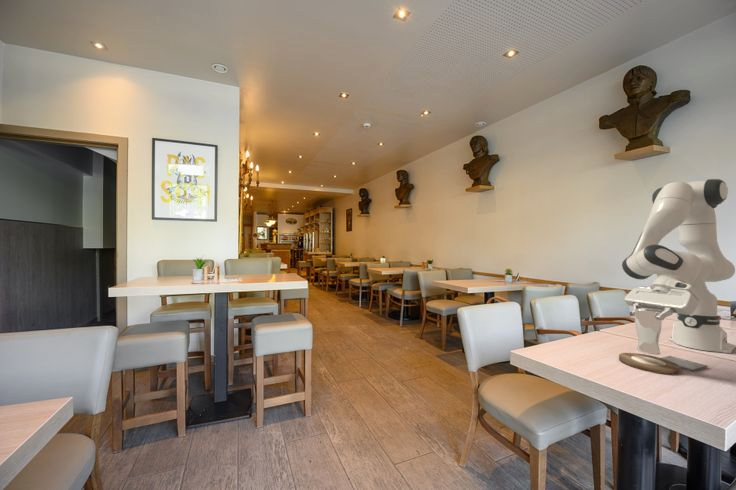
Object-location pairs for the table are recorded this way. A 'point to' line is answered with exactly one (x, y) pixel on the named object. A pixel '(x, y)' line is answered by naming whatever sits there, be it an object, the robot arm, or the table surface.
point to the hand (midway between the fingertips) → (646, 316)
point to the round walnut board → (649, 363)
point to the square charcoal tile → (686, 364)
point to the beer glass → (648, 330)
